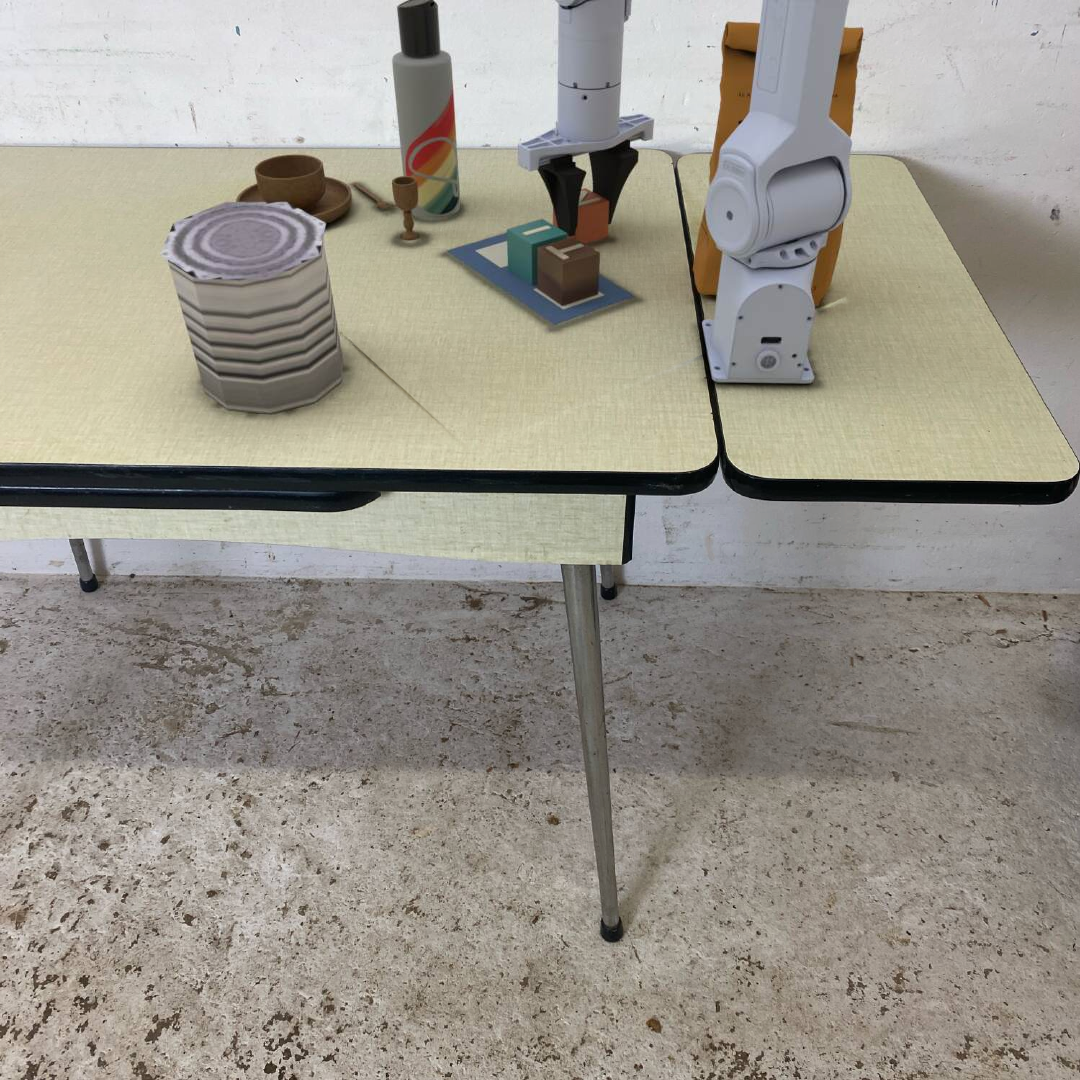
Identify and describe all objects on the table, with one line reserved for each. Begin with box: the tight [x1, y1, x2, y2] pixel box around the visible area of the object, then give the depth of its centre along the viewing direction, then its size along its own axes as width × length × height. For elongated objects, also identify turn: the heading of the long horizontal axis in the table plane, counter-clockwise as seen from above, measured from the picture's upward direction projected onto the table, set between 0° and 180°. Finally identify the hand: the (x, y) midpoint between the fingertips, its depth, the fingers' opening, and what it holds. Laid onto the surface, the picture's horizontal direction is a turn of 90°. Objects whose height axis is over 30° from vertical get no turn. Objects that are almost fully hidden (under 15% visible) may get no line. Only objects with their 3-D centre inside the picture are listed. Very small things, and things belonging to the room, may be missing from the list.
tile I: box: [506, 218, 567, 285], centre depth 87 cm, size 4×4×4 cm
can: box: [159, 201, 344, 415], centre depth 72 cm, size 11×11×12 cm
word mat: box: [446, 232, 636, 326], centre depth 89 cm, size 18×9×1 cm, turn 35°
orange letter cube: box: [552, 187, 609, 245], centre depth 94 cm, size 4×4×4 cm
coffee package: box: [692, 20, 864, 308], centre depth 80 cm, size 10×12×22 cm
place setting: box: [235, 154, 421, 242], centre depth 96 cm, size 18×20×6 cm
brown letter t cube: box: [537, 237, 601, 306], centre depth 84 cm, size 4×4×4 cm
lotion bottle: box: [391, 0, 461, 219], centre depth 94 cm, size 6×6×20 cm
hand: (585, 226), depth 94 cm, fingers closed on orange letter cube, 4 cm apart
